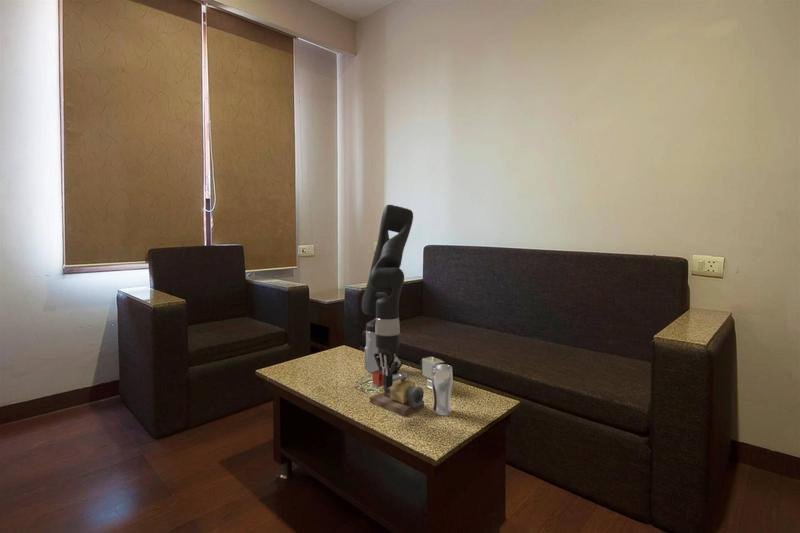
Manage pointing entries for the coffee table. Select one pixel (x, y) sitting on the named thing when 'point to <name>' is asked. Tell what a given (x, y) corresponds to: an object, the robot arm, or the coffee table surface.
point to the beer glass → (441, 388)
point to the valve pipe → (400, 397)
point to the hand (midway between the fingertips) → (388, 386)
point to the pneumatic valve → (429, 367)
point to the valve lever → (379, 378)
